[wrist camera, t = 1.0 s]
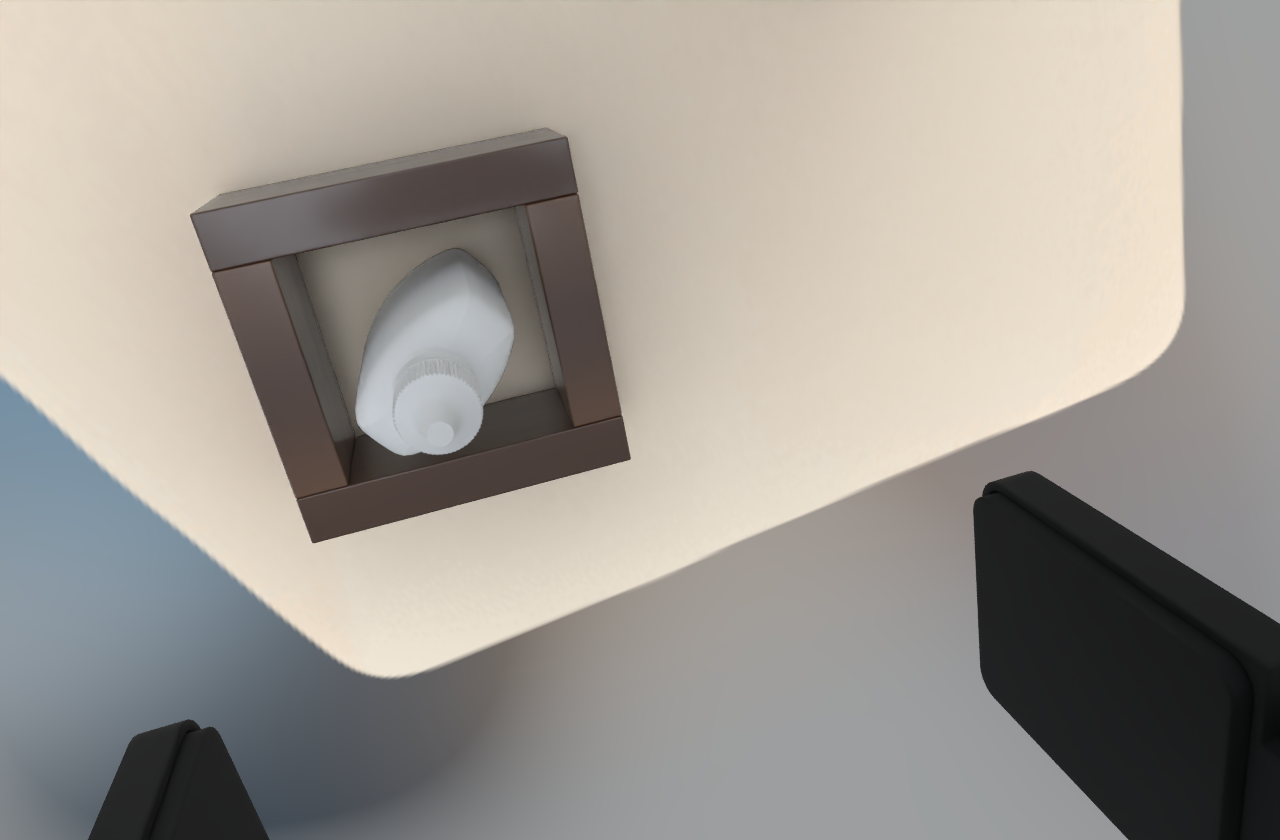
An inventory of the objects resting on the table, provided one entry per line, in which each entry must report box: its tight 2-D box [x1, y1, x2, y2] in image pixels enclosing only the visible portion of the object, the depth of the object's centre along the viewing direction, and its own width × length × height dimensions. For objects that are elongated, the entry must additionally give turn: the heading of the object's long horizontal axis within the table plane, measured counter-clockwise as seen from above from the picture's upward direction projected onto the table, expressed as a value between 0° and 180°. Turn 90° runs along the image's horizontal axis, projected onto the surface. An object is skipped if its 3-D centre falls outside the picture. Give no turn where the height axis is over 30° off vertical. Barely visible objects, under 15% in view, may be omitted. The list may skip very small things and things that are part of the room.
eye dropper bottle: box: [355, 249, 514, 456], centre depth 28 cm, size 4×6×12 cm
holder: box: [190, 128, 631, 543], centre depth 32 cm, size 12×12×4 cm
